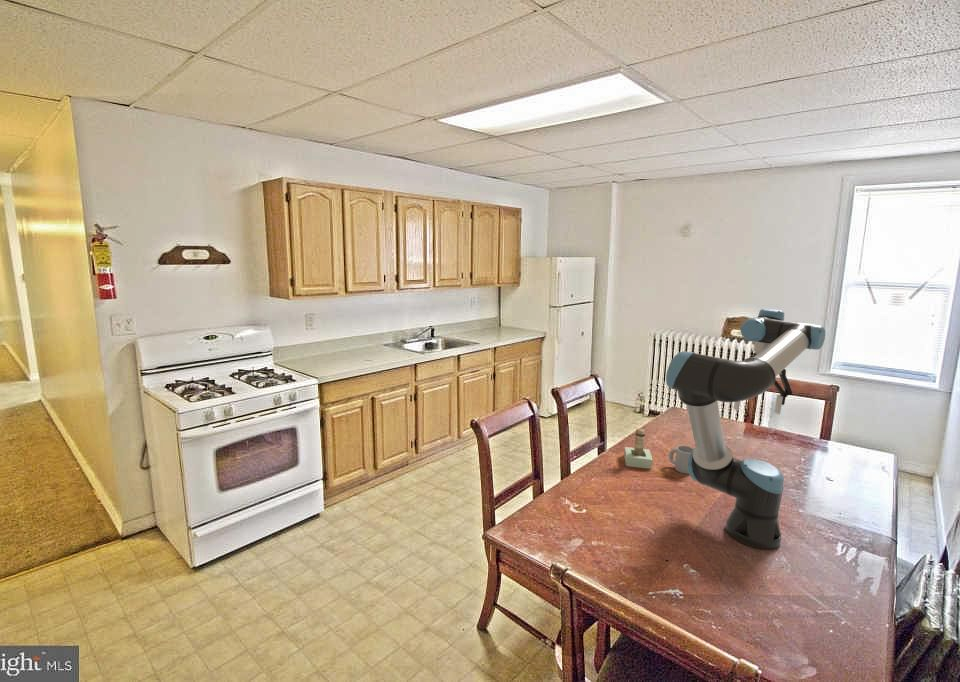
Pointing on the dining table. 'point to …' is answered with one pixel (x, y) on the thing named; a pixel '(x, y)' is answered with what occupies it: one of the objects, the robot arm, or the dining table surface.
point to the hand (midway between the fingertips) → (756, 411)
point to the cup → (681, 458)
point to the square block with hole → (638, 458)
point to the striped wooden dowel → (639, 442)
